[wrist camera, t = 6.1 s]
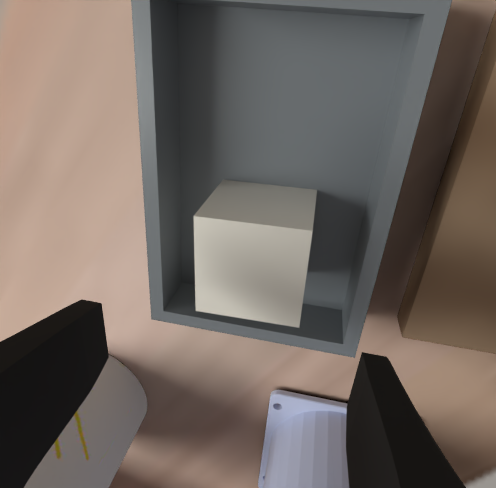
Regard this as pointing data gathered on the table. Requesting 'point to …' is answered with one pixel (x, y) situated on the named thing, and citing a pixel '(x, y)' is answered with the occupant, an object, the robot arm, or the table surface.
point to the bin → (281, 138)
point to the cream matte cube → (253, 251)
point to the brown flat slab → (461, 232)
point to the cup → (95, 433)
